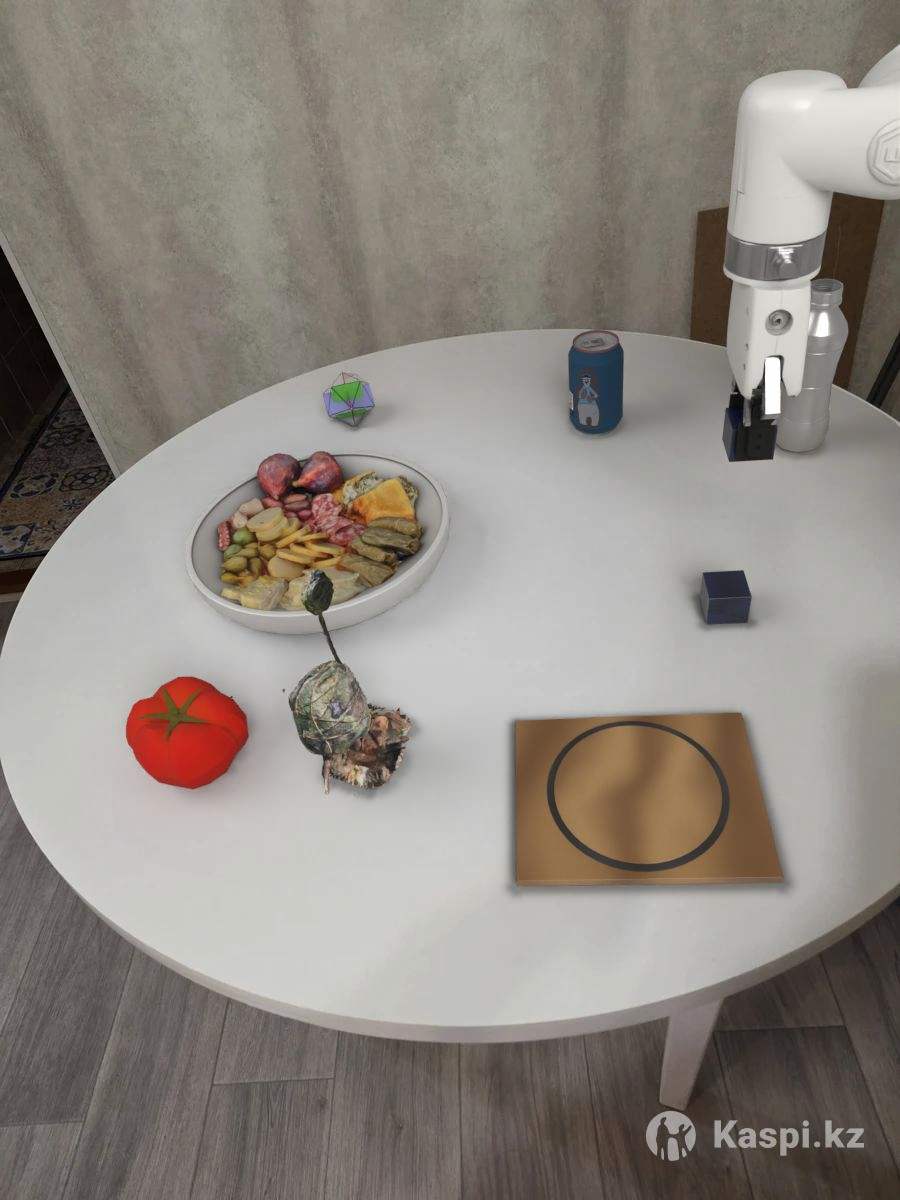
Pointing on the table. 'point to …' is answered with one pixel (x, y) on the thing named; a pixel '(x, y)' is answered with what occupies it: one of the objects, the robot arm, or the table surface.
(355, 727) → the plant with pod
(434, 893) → the table surface
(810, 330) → the plastic bottle
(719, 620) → the dark blue block
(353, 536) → the bowl
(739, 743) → the board
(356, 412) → the geometric puzzle
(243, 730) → the tomato
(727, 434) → the dark blue cube
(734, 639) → the table surface
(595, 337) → the soda can
